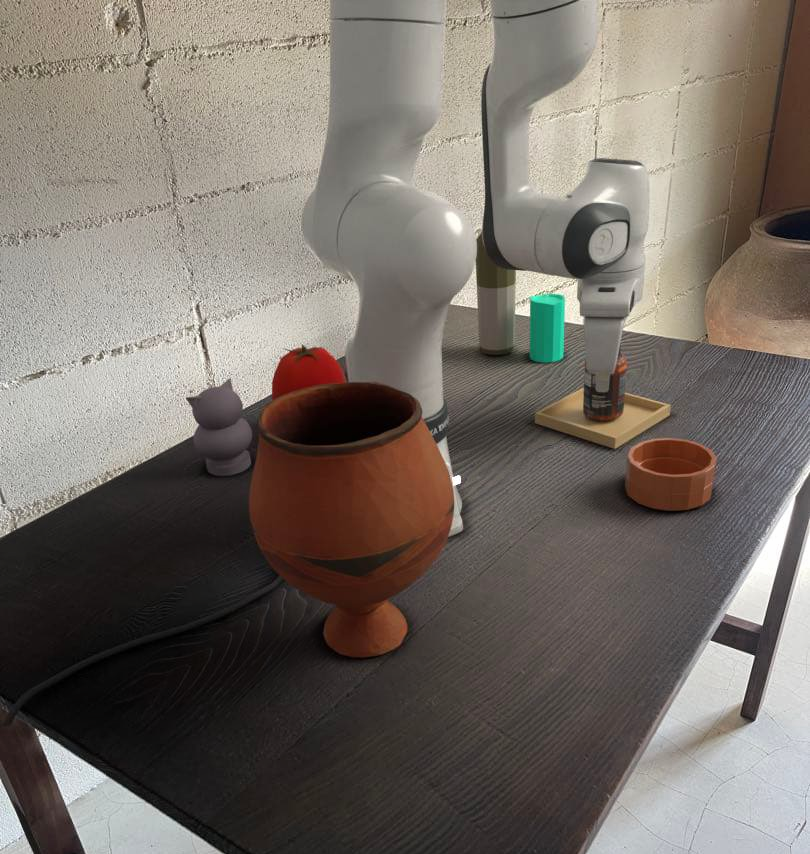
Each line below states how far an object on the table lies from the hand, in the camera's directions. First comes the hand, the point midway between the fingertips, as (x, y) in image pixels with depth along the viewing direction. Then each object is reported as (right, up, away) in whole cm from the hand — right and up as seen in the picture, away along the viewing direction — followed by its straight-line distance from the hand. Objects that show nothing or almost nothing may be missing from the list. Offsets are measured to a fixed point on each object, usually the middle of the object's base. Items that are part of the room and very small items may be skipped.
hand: (604, 380), depth 121 cm
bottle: (-12, +11, +31) cm, 35 cm away
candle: (-4, +9, +27) cm, 29 cm away
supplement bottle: (0, -5, +3) cm, 6 cm away
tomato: (-43, -6, +8) cm, 44 cm away
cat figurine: (-55, -13, 0) cm, 56 cm away
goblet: (-33, -33, -35) cm, 58 cm away
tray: (0, -5, +3) cm, 6 cm away
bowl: (+4, -17, -16) cm, 24 cm away
